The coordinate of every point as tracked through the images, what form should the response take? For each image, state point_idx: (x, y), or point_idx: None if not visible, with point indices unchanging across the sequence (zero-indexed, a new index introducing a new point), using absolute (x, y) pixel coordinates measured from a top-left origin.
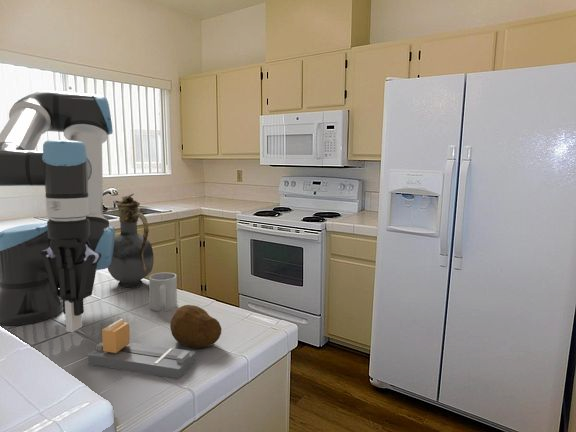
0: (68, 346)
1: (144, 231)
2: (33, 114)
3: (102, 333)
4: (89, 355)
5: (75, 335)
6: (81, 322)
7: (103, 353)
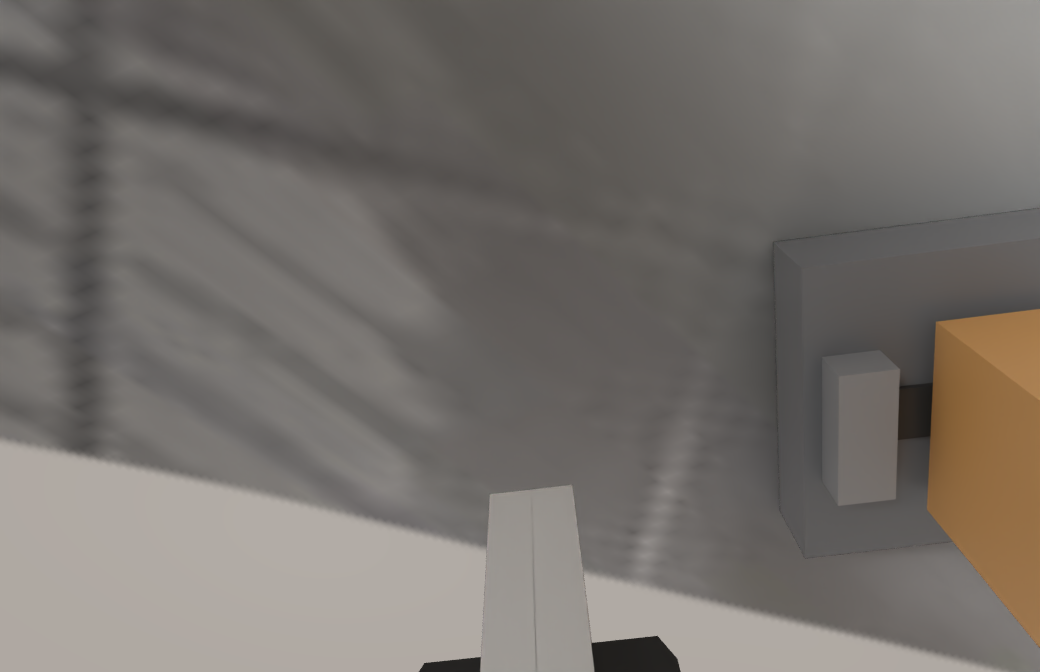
0: (377, 370)
1: None
2: None
3: (1026, 627)
4: (819, 552)
5: (223, 180)
6: (575, 521)
7: (922, 498)
